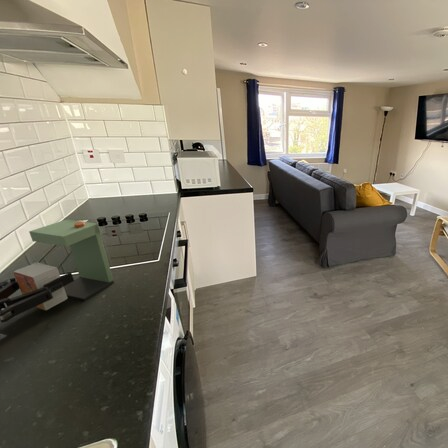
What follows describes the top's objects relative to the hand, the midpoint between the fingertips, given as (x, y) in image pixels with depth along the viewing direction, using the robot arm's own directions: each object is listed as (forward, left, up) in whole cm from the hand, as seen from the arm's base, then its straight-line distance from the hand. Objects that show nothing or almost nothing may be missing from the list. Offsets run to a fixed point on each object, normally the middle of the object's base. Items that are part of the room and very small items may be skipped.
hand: (59, 274), depth 75 cm
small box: (0, -5, -6) cm, 8 cm away
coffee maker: (0, +5, -8) cm, 10 cm away
